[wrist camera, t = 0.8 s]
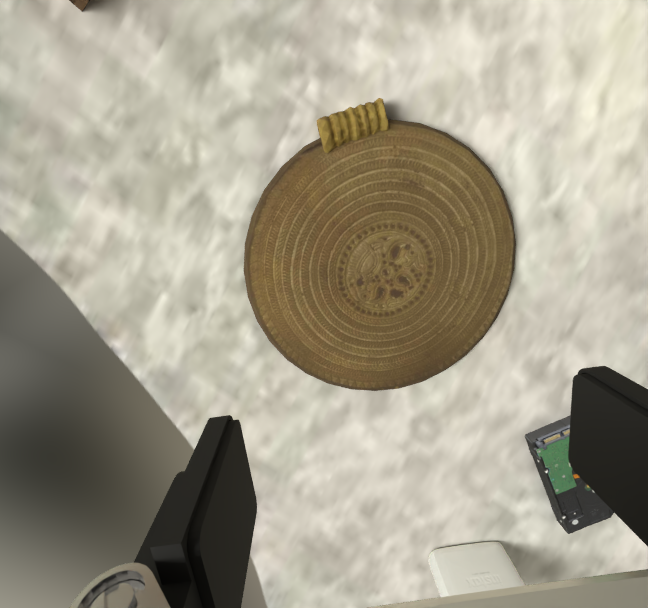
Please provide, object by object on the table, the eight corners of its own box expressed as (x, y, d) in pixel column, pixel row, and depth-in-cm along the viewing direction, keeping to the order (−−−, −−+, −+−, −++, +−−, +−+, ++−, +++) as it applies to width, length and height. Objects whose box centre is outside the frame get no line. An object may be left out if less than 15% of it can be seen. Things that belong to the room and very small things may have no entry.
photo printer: (503, 536, 50) (565, 641, 38) (502, 561, 51) (562, 671, 39) (426, 545, 49) (464, 653, 37) (427, 570, 51) (464, 683, 39)
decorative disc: (306, 432, 42) (181, 173, 34) (306, 415, 46) (191, 174, 37) (547, 342, 41) (484, 45, 32) (530, 331, 44) (467, 58, 35)
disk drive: (628, 486, 49) (599, 398, 45) (646, 503, 46) (618, 410, 43) (554, 518, 50) (520, 433, 46) (568, 536, 47) (533, 448, 43)
